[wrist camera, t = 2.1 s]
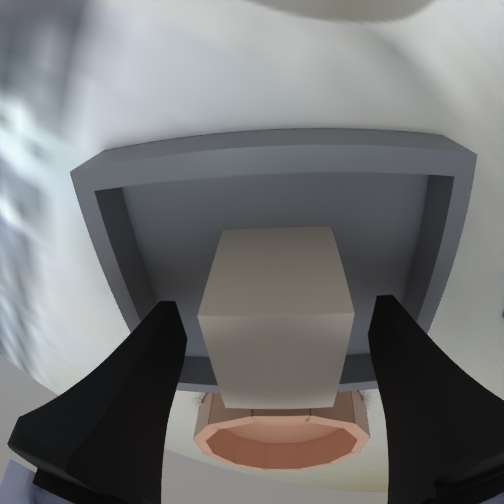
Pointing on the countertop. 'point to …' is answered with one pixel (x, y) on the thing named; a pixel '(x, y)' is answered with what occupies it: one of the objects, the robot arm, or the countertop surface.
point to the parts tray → (278, 220)
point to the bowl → (282, 434)
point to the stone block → (277, 317)
